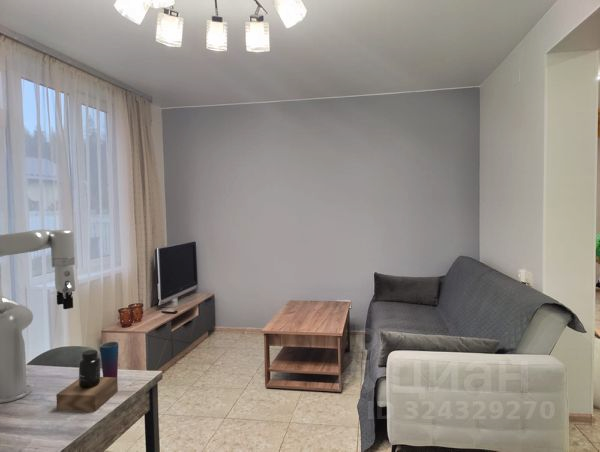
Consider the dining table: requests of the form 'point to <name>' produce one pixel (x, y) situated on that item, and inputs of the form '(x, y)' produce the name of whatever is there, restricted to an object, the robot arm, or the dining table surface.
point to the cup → (109, 359)
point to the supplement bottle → (89, 369)
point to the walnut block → (87, 395)
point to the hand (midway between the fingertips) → (64, 306)
